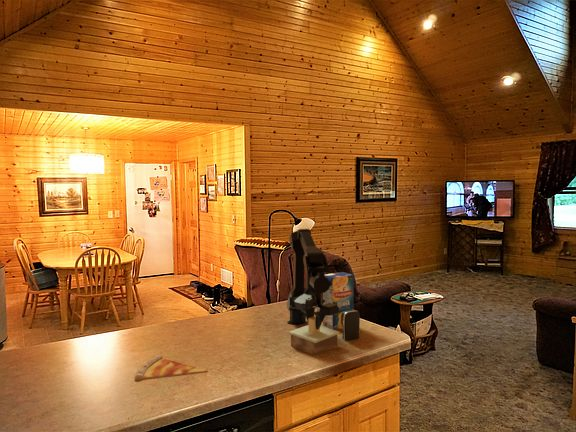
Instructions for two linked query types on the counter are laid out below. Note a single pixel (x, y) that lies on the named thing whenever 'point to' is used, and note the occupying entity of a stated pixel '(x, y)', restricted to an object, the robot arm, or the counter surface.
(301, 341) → the box
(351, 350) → the counter surface
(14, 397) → the counter surface
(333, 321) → the beverage box
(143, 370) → the pizza slice
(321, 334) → the lid
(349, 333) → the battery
